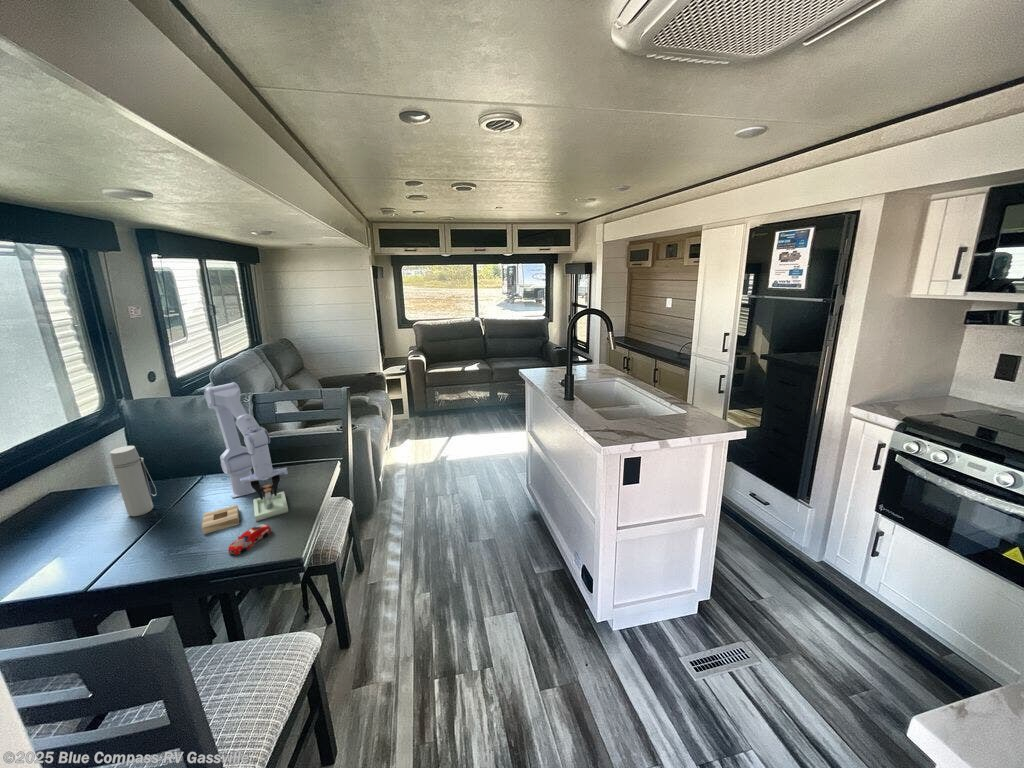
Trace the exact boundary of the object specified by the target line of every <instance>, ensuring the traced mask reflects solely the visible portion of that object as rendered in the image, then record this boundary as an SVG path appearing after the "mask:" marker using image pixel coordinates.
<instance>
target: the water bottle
mask: <svg viewBox="0 0 1024 768" xmlns="http://www.w3.org/2000/svg"><path fill="white" fill-rule="evenodd" d="M109 455H110V461H111V465H112V469H113V471H114V474H115V478H116V481H117V484H118V488H119V491H120V494H121V498H122V501H123V504H124V507H125V510H126V513H127V515H128V516H129V517H141V516H143V515H145V514H147V513H149V512H151V511H152V510H153V508H154V503H153V501H152V500H153V499H152V497H151V496H153V497H155V496H157V492H155V494H153V493H151V492H152V490H151V487H150V484H149V480H148V477H149V478H150V480H151V483H152V485H153V487H154V490H155V491H157V488H156V486H155V483H154V482H153V479H152V478H151V475H150V474H149V471H148V468H147V467H146V464H145V462H144V460H145V459H144V457H140V455H139V452H138V450H137V449H136V446H135V445H125V446H121V447H116V448H114V449H112V450H111V451H109ZM142 465H143V466H142ZM147 474H148V476H147Z"/></svg>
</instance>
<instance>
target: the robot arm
mask: <svg viewBox="0 0 1024 768" xmlns="http://www.w3.org/2000/svg"><path fill="white" fill-rule="evenodd" d="M203 394H204V398H205V401H206V405H207V408H208V409H212V410H214V412H215V415H216V417H217V421H218V424H219V425H218V426H219V427H220V431H221V434H222V437H223V441H224V445H225V450H224V452H222V454H221V455H220V456H219V459H220V467H221V470H222V472H223V473H224V474H225V475H228V476H229V481H230V486H231V499H235V498H238V497H243V496H246V495H250V494H254V493H257V495H258V496H259V498H261V500H262V499H263V497H264V496H263V492H262V491H261V484H260V481H267V480H268V479H270V478H271V481H272V485H273V494H274V495H275V496H277V493H278V492H277V491H278V487H279V486H278V485H279V483H280V479H281V478H280V476H281V475H285V476H286V475H288V474H289V473H288V468H287V467H282V468H281V467H280V468H273V465H272V459H271V454H270V453H271V452H270V450H269V444H270V443H271V437H270V434H269V432H268V430H267V429H266V428H265V427H263V426H260V425H259V423H258V422H257V420H256V419H255V417H254V416H253V415H252V414H249V413H247V411H246V409H245V407H244V406H243V403H242V402H241V395H242V392H241V389H240V386H239V385H238V383H236V382H233V381H232V382H230V383H226V384H220V385H216V386H210V387H205V389H204V393H203ZM234 418H235V419H236V420H235V419H234ZM237 428H238V430H239V431H240V433H241V434H242V436H243V442H244V444H245V446H243V445H242V443H241V440H240V437H239V432H238V430H237ZM252 469H253V473H252Z"/></svg>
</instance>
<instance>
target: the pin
mask: <svg viewBox="0 0 1024 768" xmlns="http://www.w3.org/2000/svg"><path fill="white" fill-rule="evenodd" d="M260 488H261V491H262V495H263V497H264V505H265V508H266V509H269V508H272V507H273V506H274V504H273V495H272V494H273V491H274V489H273V484H264V485H262V486H260Z"/></svg>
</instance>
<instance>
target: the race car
mask: <svg viewBox="0 0 1024 768" xmlns="http://www.w3.org/2000/svg"><path fill="white" fill-rule="evenodd" d="M271 533H272V528H271V527H270V525H269V524H265V523H262V524H258V525H255V526H253V527H251V528H249V529H248V530H246V531H244V532H242V534H241V535H240V536H237V539H236V540H235V541H233V542H232V543H231V544H230V545H229V546H228V548H227V549H228V553H229V555H231V556H237V555H243V554H244V553H246V552H247V551H248V550H250V549H251V548H252V547H254V546H255V545H257V544H258V543H260V542H261V541H262V540H264V539H266V538H268V537H269V536H270V535H271Z"/></svg>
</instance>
